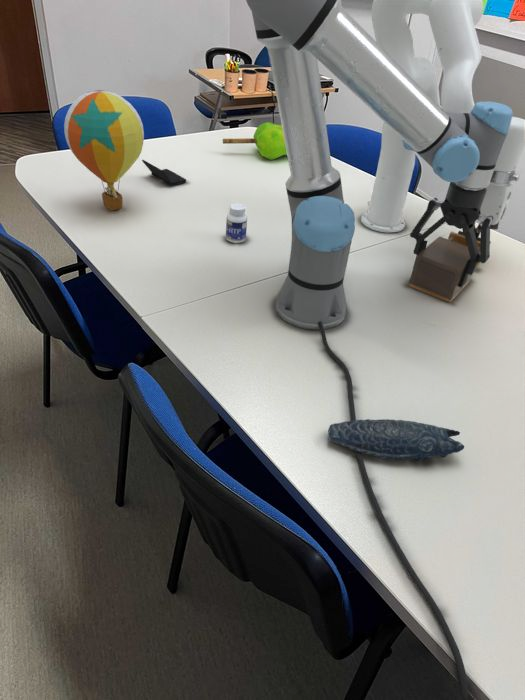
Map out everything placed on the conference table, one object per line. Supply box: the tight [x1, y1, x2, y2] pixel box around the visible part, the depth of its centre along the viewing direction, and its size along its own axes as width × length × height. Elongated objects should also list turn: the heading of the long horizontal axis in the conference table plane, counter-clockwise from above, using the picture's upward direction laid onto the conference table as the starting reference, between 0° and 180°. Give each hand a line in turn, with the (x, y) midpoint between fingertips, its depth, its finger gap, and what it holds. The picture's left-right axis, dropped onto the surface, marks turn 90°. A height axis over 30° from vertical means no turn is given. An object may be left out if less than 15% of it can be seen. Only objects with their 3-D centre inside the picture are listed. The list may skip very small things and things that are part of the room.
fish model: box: [327, 418, 465, 461], centre depth 82 cm, size 7×21×5 cm, turn 84°
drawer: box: [447, 230, 492, 269], centre depth 131 cm, size 18×9×6 cm, turn 143°
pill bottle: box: [225, 203, 248, 244], centre depth 133 cm, size 5×5×9 cm
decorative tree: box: [222, 121, 287, 161], centre depth 186 cm, size 18×10×30 cm
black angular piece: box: [141, 159, 187, 187], centre depth 162 cm, size 12×7×10 cm
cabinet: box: [407, 236, 480, 304], centre depth 124 cm, size 13×11×8 cm
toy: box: [63, 89, 145, 212], centre depth 136 cm, size 20×20×30 cm
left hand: (438, 275), depth 122 cm, fingers closed on cabinet, 11 cm apart
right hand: (469, 243), depth 134 cm, fingers closed
